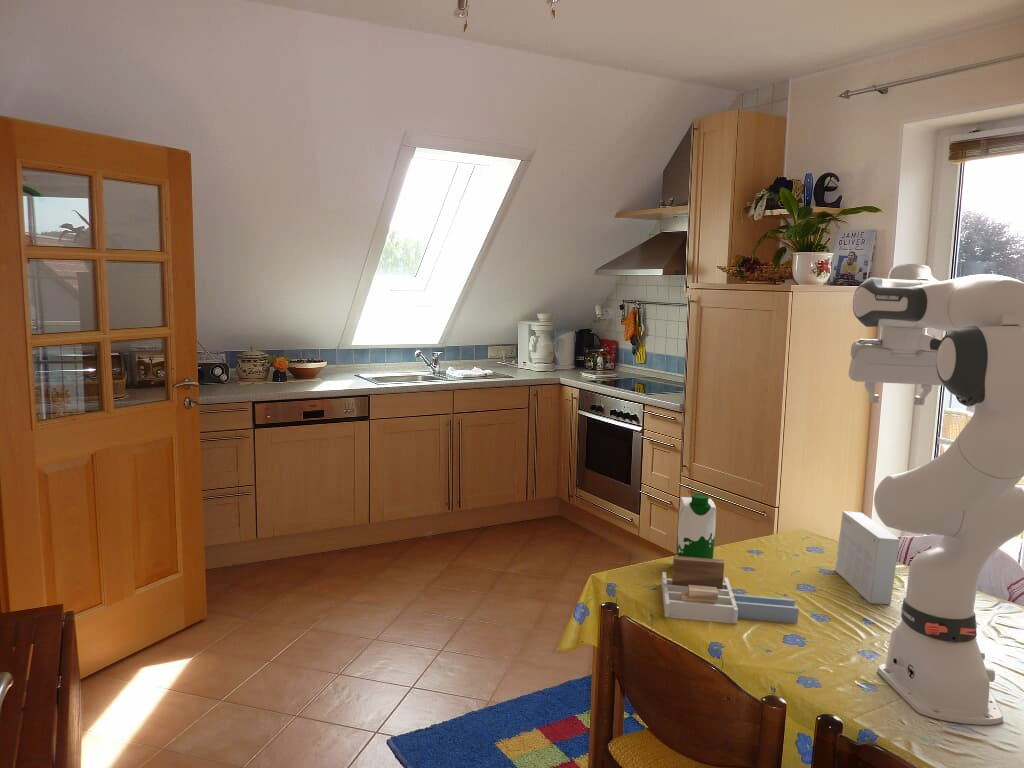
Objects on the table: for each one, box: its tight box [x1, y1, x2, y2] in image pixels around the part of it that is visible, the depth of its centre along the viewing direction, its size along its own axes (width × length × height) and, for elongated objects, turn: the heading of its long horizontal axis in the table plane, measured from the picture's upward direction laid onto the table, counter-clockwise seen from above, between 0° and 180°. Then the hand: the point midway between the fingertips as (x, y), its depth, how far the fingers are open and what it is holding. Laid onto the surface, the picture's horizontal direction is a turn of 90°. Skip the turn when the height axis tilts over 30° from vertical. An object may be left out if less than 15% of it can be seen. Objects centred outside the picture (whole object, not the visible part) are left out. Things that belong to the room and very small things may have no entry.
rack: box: [661, 571, 739, 624], centre depth 175 cm, size 18×15×4 cm
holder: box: [733, 593, 800, 624], centre depth 170 cm, size 6×13×4 cm, turn 81°
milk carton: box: [676, 493, 717, 559], centre depth 195 cm, size 9×9×20 cm
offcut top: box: [688, 585, 718, 601], centre depth 169 cm, size 3×6×2 cm, turn 81°
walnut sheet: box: [671, 555, 725, 589], centre depth 177 cm, size 2×11×9 cm, turn 82°
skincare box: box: [834, 510, 900, 605], centre depth 188 cm, size 21×6×16 cm, turn 179°
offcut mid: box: [681, 592, 715, 604], centre depth 169 cm, size 3×7×2 cm, turn 81°
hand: (896, 403), depth 170 cm, fingers open, 8 cm apart
